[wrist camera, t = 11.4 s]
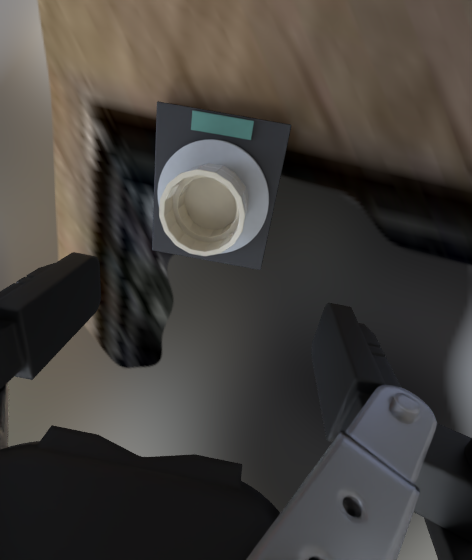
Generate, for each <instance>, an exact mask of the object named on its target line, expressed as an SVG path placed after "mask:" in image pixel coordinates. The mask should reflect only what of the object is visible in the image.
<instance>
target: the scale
mask: <svg viewBox="0 0 472 560" xmlns="http://www.w3.org/2000/svg"><path fill="white" fill-rule="evenodd" d="M290 130H291V125H290V124H284V123H278V122H272V121H267V120H261V119H255V118H250V117H244V116H238V115H232V114H227V113H221V112H215V111H209V110H204V109H198V108H192V107H186V106H181V105H175V104H169V103H164V102H157V122H156V152H155V182H154V212H153V242H152V250H154V251H160V252H165V253H171V254H176V255H182V256H187V257H192V258H198V259H203V260H209V261H214V262H220V263H225V264H231V265H236V266H242V267H247V268H252V269H257V270H261V266H262V262H263V257H264V252H265V247H266V243H267V238H268V233H269V229H270V224H271V219H272V214H273V210H274V205H275V200H276V196H277V191H278V186H279V181H280V177H281V172H282V167H283V163H284V158H285V153H286V149H287V144H288V139H289V135H290ZM206 163H212V164H218V165H223V166H225V167H227V168H228V169H230V170H231V171H233V172H234V173H236V174H237V175H238V176H239V178H240V179H241V181H242V182H243V184H244V185H245V187H246V190H247V195H248V200H249V205H248V211H247V216H246V220H245V224H244V227H243V231H242V233H241V234H240V236H239V237H238V239H237V241H236V242H235V244H234V245H233V246H231V247H230V248H228V249H227V250H225V251H224V252H222V253H220V254H215V255H210V256H201V255H195V254H190V253H188V252H186V251H184V250H183V249H181V248H179V247H178V246H176V245H175V244H174V243H173V242H172V240H171V239H170V238H169V237H168V236H167V234H166V233H165V232H164V229H163V226H162V223H161V220H160V217H159V207H160V198H161V196H162V194H163V192H164V190H165V187H166V185H167V184H168V183H169V182H170V181H172V180H173V179H174V178H175V177H176V176H178V175H179V174H180V173H182V172H184V171H186V170H189V169H191V168H193V167H195V166H198V165H202V164H206Z"/></svg>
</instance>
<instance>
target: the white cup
mask: <svg viewBox="0 0 472 560" xmlns="http://www.w3.org/2000/svg"><path fill="white" fill-rule="evenodd" d="M248 205H249V200H248V195H247V190H246V187H245V185H244V184H243V182H242V181H241V179H240V178H239V176H238V175H237V174H236V173H234V172H233V171H231V170H230V169H228V168H227V167H225V166H223V165H218V164H212V163H206V164H202V165H198V166H195V167H193V168H191V169H189V170H186V171H184V172H182V173H180V174H179V175H178V176H176V177H175V178H174V179H173V180H172V181H170V182H169V183H168V184H167V185H166V187H165V190H164V192H163V194H162V196H161V198H160V207H159V217H160V220H161V223H162V226H163V229H164V232H165V233H166V234H167V236H168V237H169V238H170V239H171V240H172V242H173V243H174V244H175V245H176V246H178V247H179V248H181V249H183V250H184V251H186V252H188V253H190V254H195V255H201V256H210V255H215V254H220V253H222V252H224V251H225V250H227V249H228V248H230V247H231V246H233V245H234V244H235V242H236V241H237V239H238V237H239V236H240V234H241V233H242V231H243V227H244V224H245V220H246V216H247V211H248Z"/></svg>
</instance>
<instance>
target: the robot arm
mask: <svg viewBox="0 0 472 560" xmlns="http://www.w3.org/2000/svg"><path fill="white" fill-rule="evenodd" d="M100 300H101V287H100V265H99V260H98V258H97V257H95V256H90V255H85V254H80V253H75V252H73V253H71V254H69V255H68V256H66V257H64V258H63V259H61V260H60V261H58V262H57V263H53V264H50V265H47V266H44V267H41V268H38V269H37V270H35V271H33V272H32V273H30V274H28V275H27V277H24V278H22V279H20V280H19V281H17V283H14V284H12V285H10V286H9V287H7V288H5V289H4V290H2V291H1V292H0V560H397V558H398V554H399V552H400V549H401V546H402V543H403V540H404V538H405V535H406V532H407V529H408V526H409V523H410V520H411V517H412V514H413V512H415V513H417V514H419V515H421V516H422V517H424V519H425V522H426V525H427V528H428V531H429V534H430V537H431V539H432V542H433V545H434V548H435V551H436V554H437V557H438V560H472V438H470V437H468V436H465V435H463V434H461V433H458V432H456V431H454V430H452V429H449V428H447V427H445V426H442V425H440V424H438V423H436V418H435V416H434V414H433V412H432V411H431V410H430V408H429V407H428V406H427V405H426V404H425V403H424V402H423V401H422V400H421V399H420V398H419V397H417V396H416V395H414V394H413V393H411V392H409V391H407V390H405V389H403V388H401V386H400V384H399V382H398V380H397V378H396V376H395V375H394V372H393V370H392V368H391V366H390V364H389V362H388V360H387V358H386V357H385V354H384V352H383V350H382V348H380V344H379V342H378V340H377V338H376V336H375V335H374V333H372V332H371V331H370V330H369V329H368V328H367V327H366V326H365V325H364V324H361V323H358V321H357V319H356V317H355V315H354V312H353V310H352V308H351V307H348V306H343V305H338V304H332V303H327V304H326V306H325V308H324V311H323V314H322V316H321V319H320V322H319V325H318V328H317V330H316V333H315V337H314V339H313V343H312V350H311V353H312V354H311V355H312V361H313V367H314V372H315V378H316V384H317V389H318V394H319V400H320V406H321V411H322V417H323V422H324V428H325V433H326V439H327V441H332V442H333V443H332V444H331V446H330V447H329V448H328V449H327V451H326V452H325V454H324V455H323V456H322V458H321V459H320V460H319V462H318V463H317V464H316V466H315V467H314V469H313V470H312V471H311V472H310V474H309V475H308V477H307V478H306V479H305V481H304V482H303V484H302V485H301V486H300V487H299V489H298V490H297V491H296V493H295V494H294V496H293V497H292V498H291V499H290V501H289V502H288V504H287V505H286V506H285V508H284V509H283V510H282V512H281V513H280V512H279V511H278V510H277V509H276V508H275V507H274V505H273V504H272V503H270V501H269V500H268V499H266V498H265V497H264V496H263V495H262V494H261V493H260V492H258V491H257V490H255V489H254V488H252V487H251V486H249V485H248V484H246V483H244V482H242V481H241V471H242V464H238V463H234V462H229V461H224V460H219V459H214V458H209V457H204V456H199V455H179V456H160V457H141V456H138V455H136V454H134V453H132V452H130V451H128V450H126V449H124V448H122V447H121V446H119V445H117V444H115V443H113V442H111V441H109V440H107V439H105V438H103V437H101V436H99V435H96V434H92V433H87V432H81V431H77V430H72V429H67V428H62V427H57V426H51V427H50V428H49V430H48V431H47V433H46V434H45V435H44V437H43V438H42V439H41V441H36V442H29V443H23V444H19V445H15V446H11V447H8V420H9V387H8V381H9V380H11V378H13V377H14V376H16V377H20V378H26V379H31V380H32V379H34V377H35V376H36V375H37V374H38V373H39V372H40V371H41V370H42V369H43V368H44V367H45V366H46V365H47V364H48V362H49V361H50V360H51V359H52V358H53V357H54V356H55V355H56V354H57V353H58V352H59V351H60V350H61V349H62V347H64V346H65V344H66V343H67V342H68V341H69V340H70V339H71V338H72V337H73V336H74V335H75V334H76V333H77V332H78V331H79V330H80V328H81V327H82V326H83V325H84V324H85V323H86V322H87V321H88V320H89V319H90V318H91V317H92V316H93V315H94V314H95V312H96V311H97V309H98V307H99V304H100Z"/></svg>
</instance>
